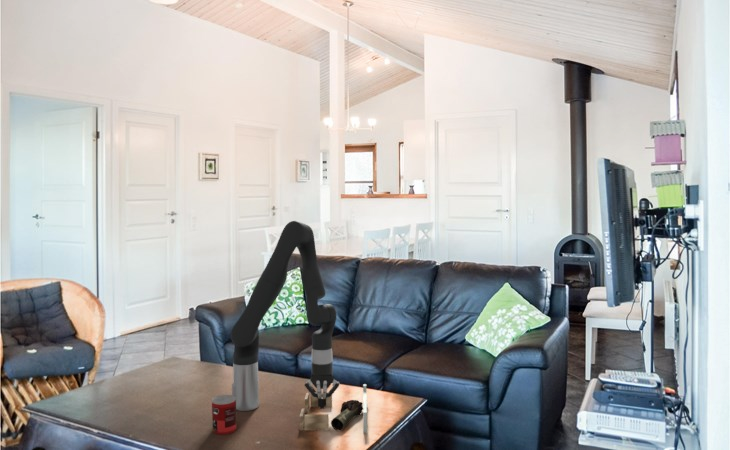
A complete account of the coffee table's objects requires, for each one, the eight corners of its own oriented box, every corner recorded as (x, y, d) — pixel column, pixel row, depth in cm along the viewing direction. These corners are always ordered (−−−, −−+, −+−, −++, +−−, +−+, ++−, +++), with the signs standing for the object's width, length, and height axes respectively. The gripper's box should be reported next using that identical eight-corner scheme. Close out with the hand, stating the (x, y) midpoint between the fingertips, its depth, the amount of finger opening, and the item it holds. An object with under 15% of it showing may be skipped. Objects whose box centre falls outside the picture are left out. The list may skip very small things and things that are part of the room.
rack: (363, 433, 183) (363, 412, 183) (363, 402, 211) (363, 384, 211) (367, 433, 183) (366, 412, 183) (366, 402, 211) (366, 384, 211)
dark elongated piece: (343, 432, 185) (343, 415, 184) (326, 429, 188) (325, 413, 187) (365, 413, 201) (365, 398, 200) (349, 410, 204) (349, 395, 203)
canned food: (214, 426, 190) (214, 394, 190) (238, 425, 191) (237, 394, 190) (210, 435, 183) (209, 403, 182) (234, 434, 183) (234, 402, 183)
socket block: (299, 430, 186) (299, 416, 185) (306, 405, 208) (306, 392, 208) (328, 430, 186) (328, 415, 186) (332, 405, 208) (331, 392, 208)
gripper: (302, 363, 192) (302, 412, 193) (339, 363, 192) (340, 412, 193) (304, 357, 199) (305, 404, 200) (341, 357, 199) (341, 404, 200)
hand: (322, 408), depth 196 cm, fingers closed
